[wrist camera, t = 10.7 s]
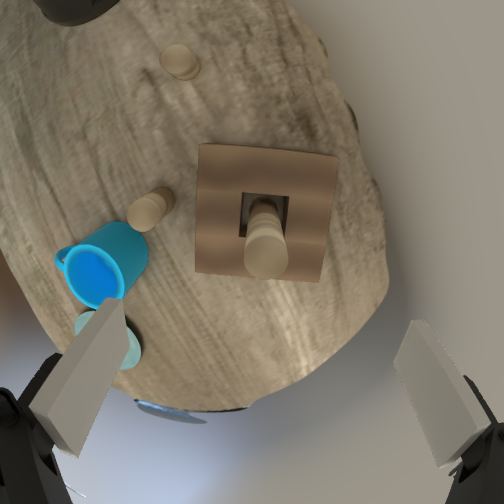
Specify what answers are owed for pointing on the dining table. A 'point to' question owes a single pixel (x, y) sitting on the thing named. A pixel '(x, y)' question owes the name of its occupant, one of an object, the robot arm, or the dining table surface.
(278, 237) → the dowel long
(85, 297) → the mug
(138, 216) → the dowel mid
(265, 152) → the collar block
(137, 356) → the saucer
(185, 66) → the dowel short
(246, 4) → the dining table surface
